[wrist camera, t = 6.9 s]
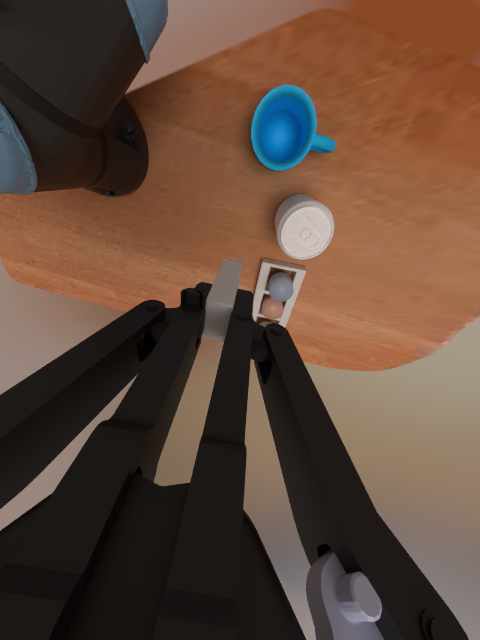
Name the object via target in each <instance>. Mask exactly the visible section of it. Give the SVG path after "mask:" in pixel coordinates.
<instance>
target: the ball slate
mask: <svg viewBox="0 0 480 640" xmlns="http://www.w3.org/2000/svg"><path fill="white" fill-rule="evenodd" d="M293 292H294V289H293V284H292V280H291V278H290V276H289V275H288V274H286V273H283V272H279V273H276V274H274V275H273V276H272V277H271V278H270V280H269V294H270V296H271V298H272V299H274V300H275V301H278V302H283V301H286V300H288V299H290V298H291V296H292V295H293Z"/></svg>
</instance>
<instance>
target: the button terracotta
mask: <svg viewBox="0 0 480 640" xmlns="http://www.w3.org/2000/svg"><path fill="white" fill-rule="evenodd" d="M262 313H263V315H264V316H265V317H266V318H267V319H271V320H274V319H278V318H279V317H281V316H282V314H283V303H282V302H278V301H275V300H274V299H272V298H271V296H270V295H269V294H268V295H266V296H265V297H264V298H263V301H262Z"/></svg>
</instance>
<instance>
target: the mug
mask: <svg viewBox="0 0 480 640" xmlns="http://www.w3.org/2000/svg"><path fill="white" fill-rule="evenodd" d="M316 126H317V123H316V111H315V108H314V106H313V103H312V100H311V98H310V97H309V96H308V95H307V94H306V92H305V91H304V90H302V89H300V88H298V87H296V86H294V85H282V86H279V87H277V88H275V89H273V90H271V91H270V92H269V93H268V94H267V95H266V96H265V97H264V98H263V99H262V100H261V102H260V104H259V105H258V107H257V109H256V111H255V114H254V118H253V121H252V128H251V139H252V144H253V149H254V151H255V153H256V155H257V157H258V159H259V161H260V162H261V163H262V164H263V165H264V166H265V167H266V168H268V169H271V170H276V171H282V170H286V169H289V168H292V167H294V166H295V165H296V164H298V163H299V162H300V161H302V160H303V158H304V157H305V156H306V154H307V153H308V152H309V151H315V152H322V153H331V152H333V150H334V149H335V146H336V142H335V141H334V140H333V139H330V138H328V137H325V136H322V135H319V134H315V132H316Z"/></svg>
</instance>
